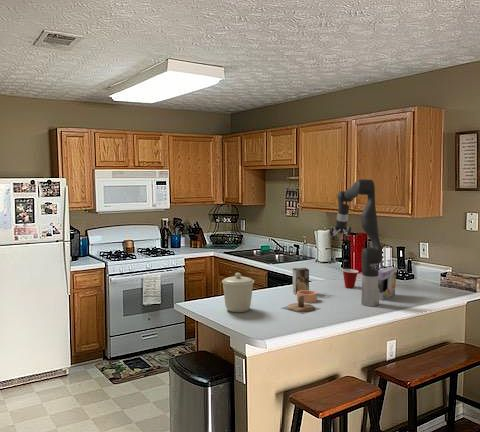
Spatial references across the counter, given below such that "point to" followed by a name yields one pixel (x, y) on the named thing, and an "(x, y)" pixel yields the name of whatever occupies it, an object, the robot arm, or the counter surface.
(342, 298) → the counter surface
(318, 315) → the counter surface
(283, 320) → the counter surface
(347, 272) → the plastic cup
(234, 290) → the canister
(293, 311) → the rubber mat
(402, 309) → the counter surface
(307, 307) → the walnut lid
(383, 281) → the cake pan box
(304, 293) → the terracotta bowl
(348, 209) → the robot arm
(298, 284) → the coffee box
